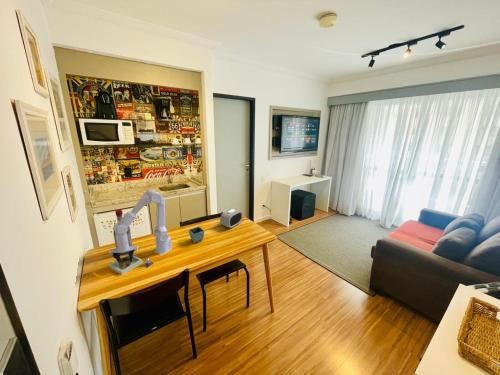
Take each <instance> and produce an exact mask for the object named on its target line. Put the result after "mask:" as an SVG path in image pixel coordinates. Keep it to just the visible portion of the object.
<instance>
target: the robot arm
mask: <svg viewBox="0 0 500 375" xmlns="http://www.w3.org/2000/svg"><path fill="white" fill-rule="evenodd" d="M152 203H155V205H156V218H155V219H156V225H155V227H154V231H153V236H154V237H155V247H156V249H155V250H153V252H154V253H155V254H158V255H160V256H163V255H165V254H166V253H168V252H169V251H171V250H172V249H173V246H172V245H173V244H172V239H171V237H170V236H169V234H168V229H167V228H166V200H165V198H164V196H163V195H162V194H161V193H160V192H157V191H156V190H154V189H152V188H149V189H146V191H145V192H144V193H142V196H141V197H140V199H139V200H138V201H137V203H136V204H135V205H134V207H133V208H132V210H131V211H130V210H129V211H126V213H124V214H123V216H122V217H123V218H122V219H121V220H120V221H117V222H116V223H115V224H114V225H113V227H112V231H113V232H114V231H115V235H116V242H117V248H116V247H115V248H113V249H112V248H111V249H109V251H108V254H109V255H112V257H113V258H114V259H115V261H116V260H117V261H118V263H119V262H120V259H121V258H122V257H121V255H120V253H124V252H127V251H130V252H129V257H130V262H132V258H133V255H134V253H135V252H137V251H138V249H139V246H135V245H134V246H133V245H132V246H129V243H128V237H127V231H128V227H130V226H131V225H132V224H133V222H134V221H135V220H136V218H137V214H138V213H139V212H140V211H141V210H142V209H143V207H145V206H146V205H149V204H152Z"/></svg>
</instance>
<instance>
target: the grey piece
mask: <svg viewBox="0 0 500 375" xmlns="http://www.w3.org/2000/svg"><path fill="white" fill-rule="evenodd" d="M144 260H145V262H144V263H142V264H141V266H142V267H144V268H146V269H148V268H149V267H151V266H153V265H154V264H155V263H154V262H152V261H151V260H150V258H149V257H146V258H145V259H144Z"/></svg>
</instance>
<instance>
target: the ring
mask: <svg viewBox="0 0 500 375" xmlns="http://www.w3.org/2000/svg"><path fill="white" fill-rule="evenodd" d="M122 257H123V258H122ZM122 257H120V258H121V259H120V262H119V267H123V268H125V267H126V266H130V265H131V262H130V257H124V256H122Z"/></svg>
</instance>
